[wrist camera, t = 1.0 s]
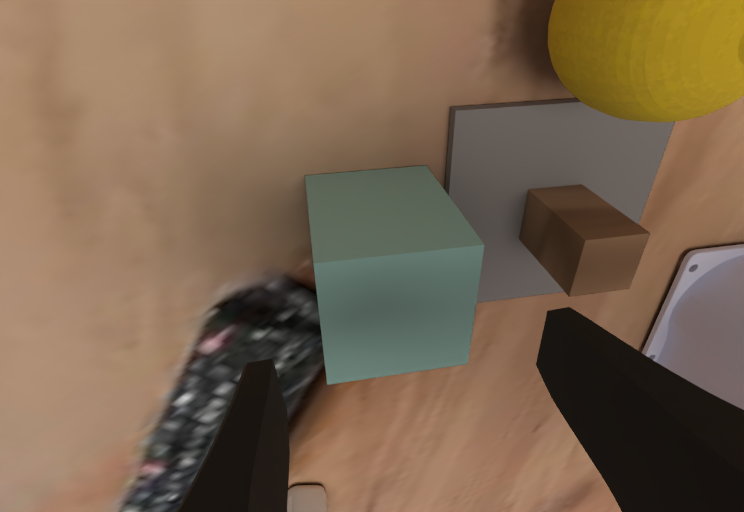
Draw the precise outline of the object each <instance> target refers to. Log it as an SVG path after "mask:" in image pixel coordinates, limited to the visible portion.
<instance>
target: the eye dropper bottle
mask: <svg viewBox="0 0 744 512" xmlns="http://www.w3.org/2000/svg"><path fill="white" fill-rule="evenodd" d="M287 512H328V509H327V498H326V493H325V490H324V488H323V487H322V486H319V485H298V486H294V487H292V488H291V489H289V490H288V500H287Z"/></svg>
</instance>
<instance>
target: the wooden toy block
mask: <svg viewBox="0 0 744 512" xmlns="http://www.w3.org/2000/svg"><path fill="white" fill-rule="evenodd" d="M649 235H650V233H649V232H648V231H647V230H645V229H644V228H642V227H641V226H640V225H638V224H637V223H635V222H634V221H633V220H631V219H630V218H628V217H627V216H626V215H624V214H623V213H621V212H620V211H619V210H617V209H616V208H614V207H613V206H612V205H610V204H609V203H607V202H606V201H605V200H603V199H602V198H600V197H599V196H598V195H596V194H595V193H593V192H592V191H591V190H589V189H588V188H586V187H585V186H584V185H582V184H579V185H568V186H558V187H547V188H537V189H528V193H527V198H526V203H525V209H524V214H523V219H522V224H521V230H520V235H519V240H520V241H521V242H522V243H523V244H524V246H525V247H526V248H527V249H528V250H529V251H530V252H531V254H532V255H533V256H534V257H535V258H536V259H537V260H538V262H539V263H540V264H541V265H542V266H543V267H544V268H545V270H546V271H547V272H548V273H549V274H550V275H551V276H552V278H553V279H554V280H555V281H556V282H557V283H558V284H559V286H560V287H561V288H562V289H563V290H564V291H565V292H566V294H567V295H568V296H569V297H570V296H578V295H586V294H594V293H601V292H609V291H617V290H624V289H629V288H630V285H631V283H632V280H633V277H634V275H635V272H636V269H637V267H638V264H639V262H640V259H641V256H642V254H643V251H644V248H645V246H646V243H647V241H648V238H649Z"/></svg>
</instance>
